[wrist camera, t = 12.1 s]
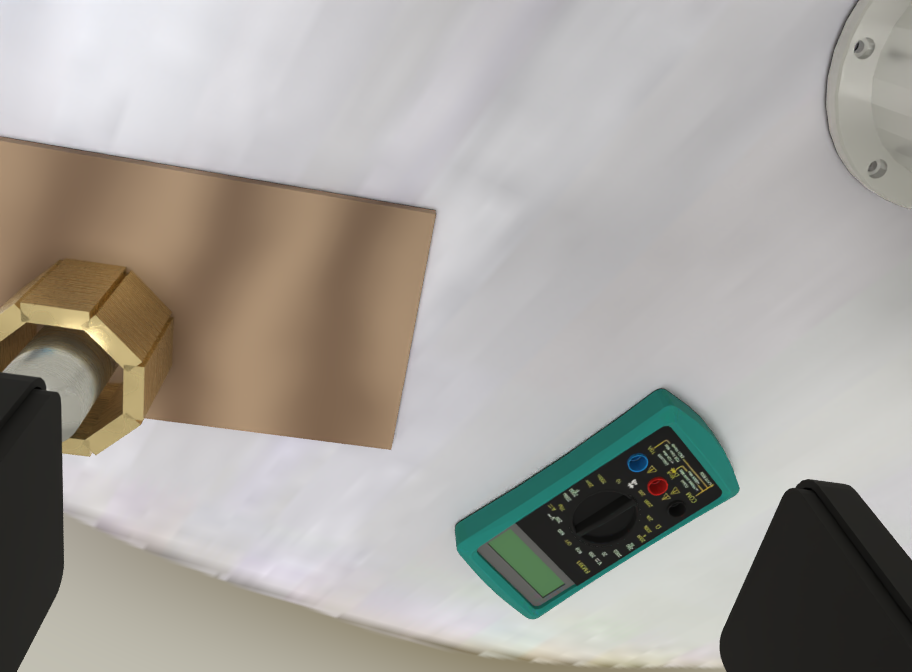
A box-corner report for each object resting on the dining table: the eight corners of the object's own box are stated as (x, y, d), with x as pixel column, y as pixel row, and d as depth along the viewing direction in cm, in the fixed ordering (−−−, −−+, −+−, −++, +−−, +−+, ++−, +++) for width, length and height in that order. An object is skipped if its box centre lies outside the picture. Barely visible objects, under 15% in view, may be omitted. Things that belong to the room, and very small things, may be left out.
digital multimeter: (736, 461, 46) (757, 493, 44) (523, 595, 50) (530, 633, 47) (668, 374, 43) (685, 402, 41) (447, 522, 47) (450, 557, 44)
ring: (176, 274, 38) (145, 320, 34) (170, 404, 41) (142, 462, 37) (14, 250, 37) (-39, 294, 33) (20, 385, 40) (-28, 442, 36)
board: (435, 210, 38) (436, 214, 38) (391, 443, 44) (391, 449, 43) (-22, 132, 35) (-29, 136, 35) (-8, 391, 41) (-14, 397, 40)
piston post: (133, 303, 39) (81, 375, 32) (131, 369, 40) (81, 450, 34) (53, 291, 38) (-16, 362, 32) (54, 359, 40) (-11, 439, 33)
